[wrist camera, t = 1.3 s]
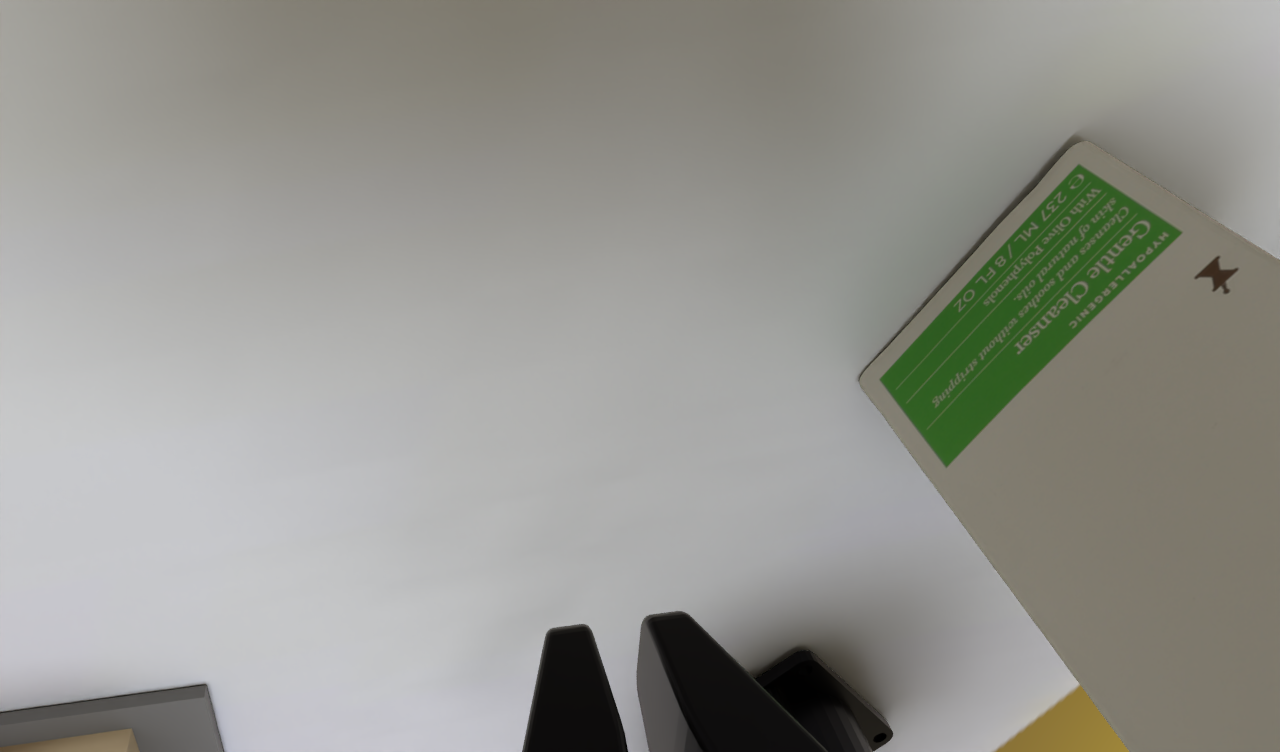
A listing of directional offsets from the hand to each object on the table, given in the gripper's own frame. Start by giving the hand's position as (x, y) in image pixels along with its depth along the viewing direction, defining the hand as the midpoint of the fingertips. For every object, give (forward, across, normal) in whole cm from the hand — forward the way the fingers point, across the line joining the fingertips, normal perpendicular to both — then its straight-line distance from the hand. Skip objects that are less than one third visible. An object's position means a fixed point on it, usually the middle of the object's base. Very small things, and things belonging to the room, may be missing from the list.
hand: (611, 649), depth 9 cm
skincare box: (+13, -14, +5) cm, 20 cm away
